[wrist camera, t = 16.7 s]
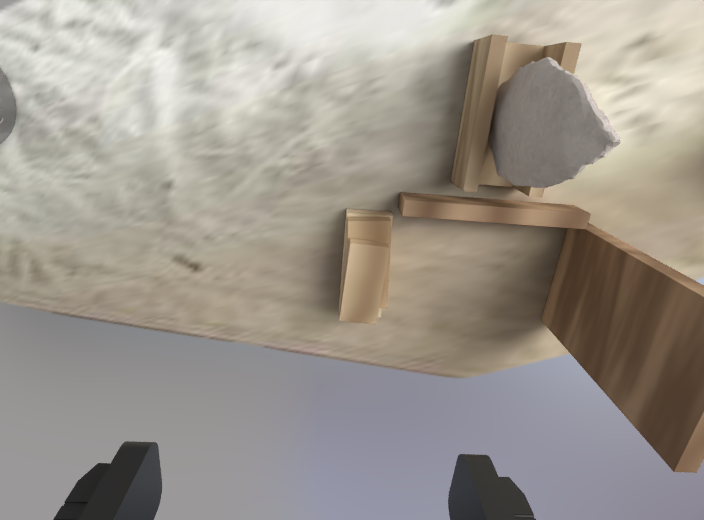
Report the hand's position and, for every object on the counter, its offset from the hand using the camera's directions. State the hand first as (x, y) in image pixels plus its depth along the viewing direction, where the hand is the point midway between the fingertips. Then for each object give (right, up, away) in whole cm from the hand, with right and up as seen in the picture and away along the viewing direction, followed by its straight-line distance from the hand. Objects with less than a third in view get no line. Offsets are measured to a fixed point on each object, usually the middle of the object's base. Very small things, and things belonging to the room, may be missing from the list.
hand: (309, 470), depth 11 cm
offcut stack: (+2, +5, +32) cm, 33 cm away
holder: (+15, +19, +27) cm, 36 cm away
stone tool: (+14, +18, +27) cm, 36 cm away
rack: (+15, +6, +33) cm, 36 cm away
